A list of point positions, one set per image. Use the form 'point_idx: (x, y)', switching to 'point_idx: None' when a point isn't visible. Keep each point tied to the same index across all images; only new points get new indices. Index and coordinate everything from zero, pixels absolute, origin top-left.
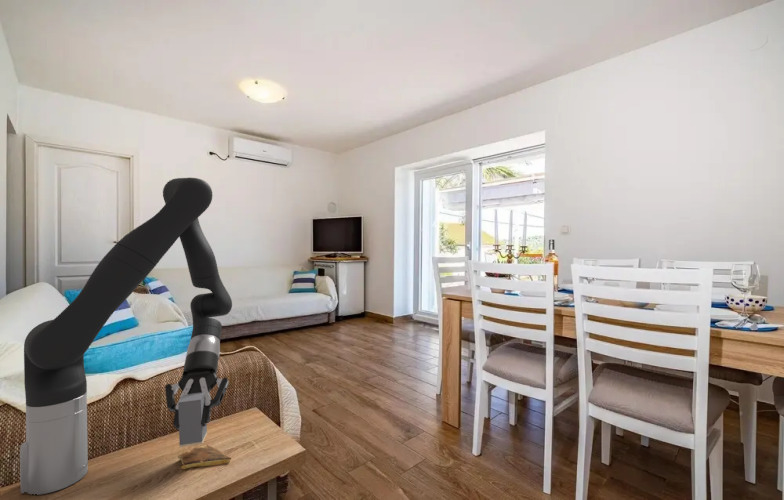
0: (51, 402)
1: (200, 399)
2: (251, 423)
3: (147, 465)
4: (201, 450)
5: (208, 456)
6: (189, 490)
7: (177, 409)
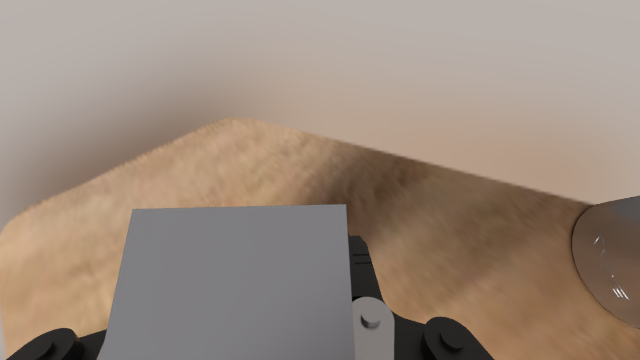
0: None
1: (135, 209)
2: None
3: (422, 275)
4: None
5: None
6: (272, 132)
7: (369, 298)
